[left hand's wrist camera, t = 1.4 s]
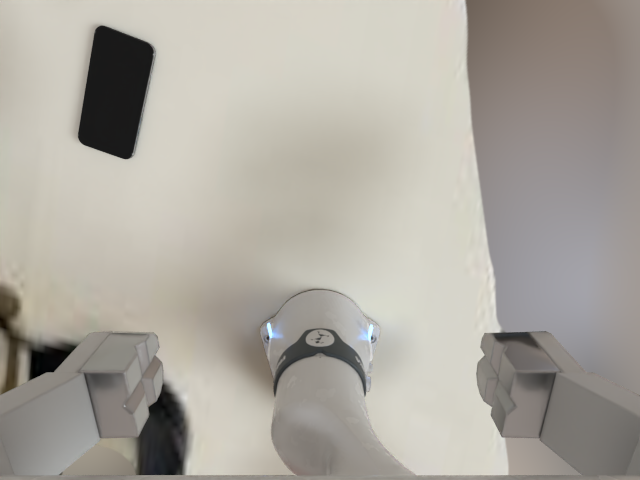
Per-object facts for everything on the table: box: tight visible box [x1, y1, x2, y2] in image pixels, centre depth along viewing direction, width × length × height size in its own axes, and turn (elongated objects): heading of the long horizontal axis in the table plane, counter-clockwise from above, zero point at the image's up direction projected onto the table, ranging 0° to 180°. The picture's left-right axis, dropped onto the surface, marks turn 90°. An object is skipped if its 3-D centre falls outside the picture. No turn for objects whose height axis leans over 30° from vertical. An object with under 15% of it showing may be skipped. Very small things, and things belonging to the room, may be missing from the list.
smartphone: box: [78, 26, 155, 159], centre depth 53 cm, size 7×1×15 cm
